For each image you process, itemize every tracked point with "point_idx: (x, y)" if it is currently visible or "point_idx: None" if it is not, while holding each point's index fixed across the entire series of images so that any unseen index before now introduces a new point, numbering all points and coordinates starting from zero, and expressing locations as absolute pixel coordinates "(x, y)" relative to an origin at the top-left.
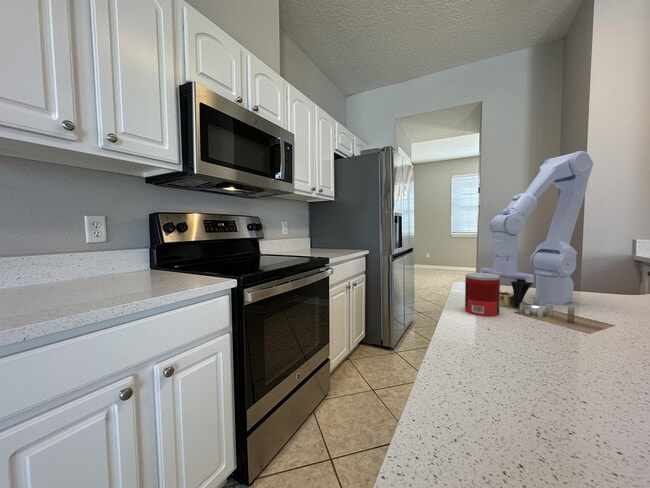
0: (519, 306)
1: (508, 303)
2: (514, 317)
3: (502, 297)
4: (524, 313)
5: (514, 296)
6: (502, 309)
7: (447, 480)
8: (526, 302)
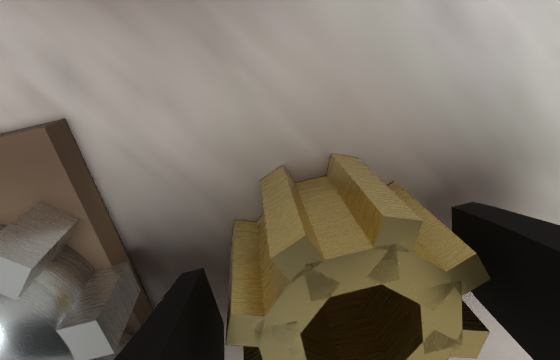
0: (50, 244)
1: (249, 254)
2: (27, 108)
3: (278, 237)
4: (5, 213)
5: (161, 340)
6: None
7: None
8: (66, 355)
